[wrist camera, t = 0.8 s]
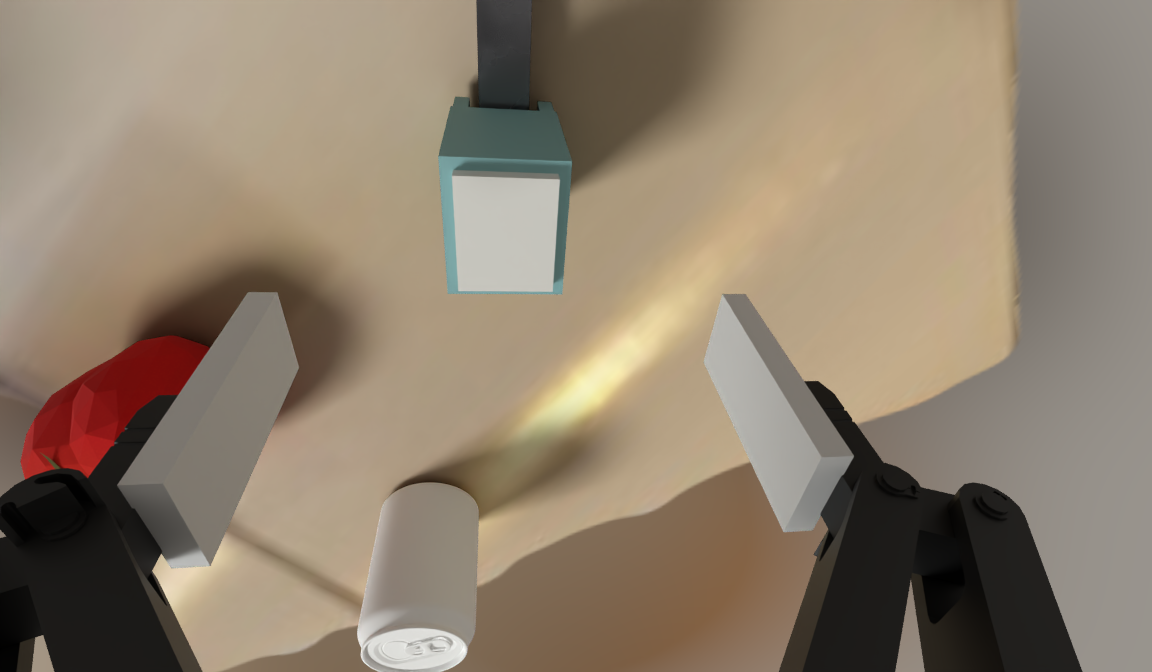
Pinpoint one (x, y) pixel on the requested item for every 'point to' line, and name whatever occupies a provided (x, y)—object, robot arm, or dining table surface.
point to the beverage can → (421, 581)
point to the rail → (504, 53)
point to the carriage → (504, 199)
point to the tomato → (106, 403)
